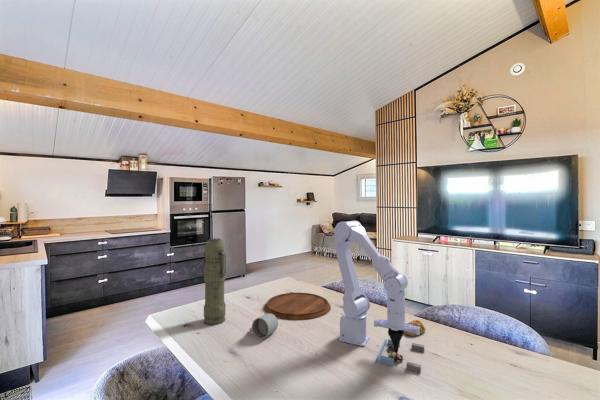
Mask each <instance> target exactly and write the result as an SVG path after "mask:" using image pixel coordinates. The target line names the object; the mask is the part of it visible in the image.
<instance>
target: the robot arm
mask: <svg viewBox="0 0 600 400" xmlns="http://www.w3.org/2000/svg"><path fill="white" fill-rule="evenodd" d="M333 233H334V241H333V242H334V243H333V246H334V250H335V255H336V257H337V258H336V259H337V262H338V266H339V271H340V275H341V278H342V282H343V283H342V284H343V286H344V290H345V292H344V294H343V295H342V303H343V304H342V309H343V313H342V314H341V316H340V318H339V319H340V320H339V339H338V341H340V342H343V343H346V344H347V343H348V344H351V345H357V346H360V347H366V344H367V343H368V341H369V340H370V335H367V315H368V314H367V313H368V311H369V310H370V306H371V303H370V300H369V298H368V297H367V295H366V293H365V290H364V289H362V288H361V287H360V282H359V279H358V276H357V272H356V271H357V270H356V268H355V264H354V260H353V256H352V252H351V248H350V246H351V244H352V243H357V244H358V245H359V246H360V247H361V248H362V249H363V251H364V252H365V253H366V254H367V256H368V257H369V258H370V259H371V266H372V267H373V269H374V270H375V272H376V273H377V274H378V276H379V277H380V279H381V280H382V281H383V282H384V283H383V287H384V290H385V291H386V310H387V311H386V316H387V318H386V319H376V318H375V319H374V320H373V327H374V328H378V327H380V328H385V329H388V330H387V333H388V336H389V338H391V340H392V343H393V345H392V346H393V347H394V351H395V352H396V353H398V352H399V342H400V343H401V339H402V337H403V335H404V331H405V332H411V333H415V334H417V335H416V336H420V335H419V333H420V327H418V326H414V325H411V324H408V323H409V322H406V291H405V290H406V289H407V286H408V280H407V277H406V276H405V274H403V273H401V272H399V271H398V270H397V269H396V268H395V266H394V265H393V264H392V263H391V259H390V258H389V257H387V256H386V255H383V254H380V252H379V251H378V249H377V248H376V246H375V245H374V243H373V241H372V240H371V239H370V237H369V236H368V234H367V232H366V229H365V227H364V226H362V224H361V222H360V221H358V220H350V221H349V220H348V221H339V222H338V223H336V226H334V228H333Z"/></svg>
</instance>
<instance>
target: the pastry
mask: <svg viewBox="0 0 600 400" xmlns="http://www.w3.org/2000/svg"><path fill="white" fill-rule="evenodd" d="M407 323H408V324H411V325H414V326H418V327H420V333H419V335H417V334H415V333H411V332H405V331H404V333H403V335H404V334H405V335H408V336H410V337H415V336H420V335H421V334H425V332H426V327H425V325H424V323H423V322H422V321H420V320H417V319H416V320H414V319H413V320H411V321H409V322H407Z"/></svg>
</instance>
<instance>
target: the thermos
mask: <svg viewBox="0 0 600 400" xmlns="http://www.w3.org/2000/svg"><path fill="white" fill-rule="evenodd" d="M203 260H204V261H203V281H204V306H203V318H204V321H203V324H205V325H207V326H218V325H221V324H223V323H224V322H225V321H226V311H227V310H226V306H227V305H226V302H225V281H226V272H227V254H226V252H225V245H224V242H223V240H222V239H221V238H209V239H208V240H206V244H205V250H204V252H203Z"/></svg>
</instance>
